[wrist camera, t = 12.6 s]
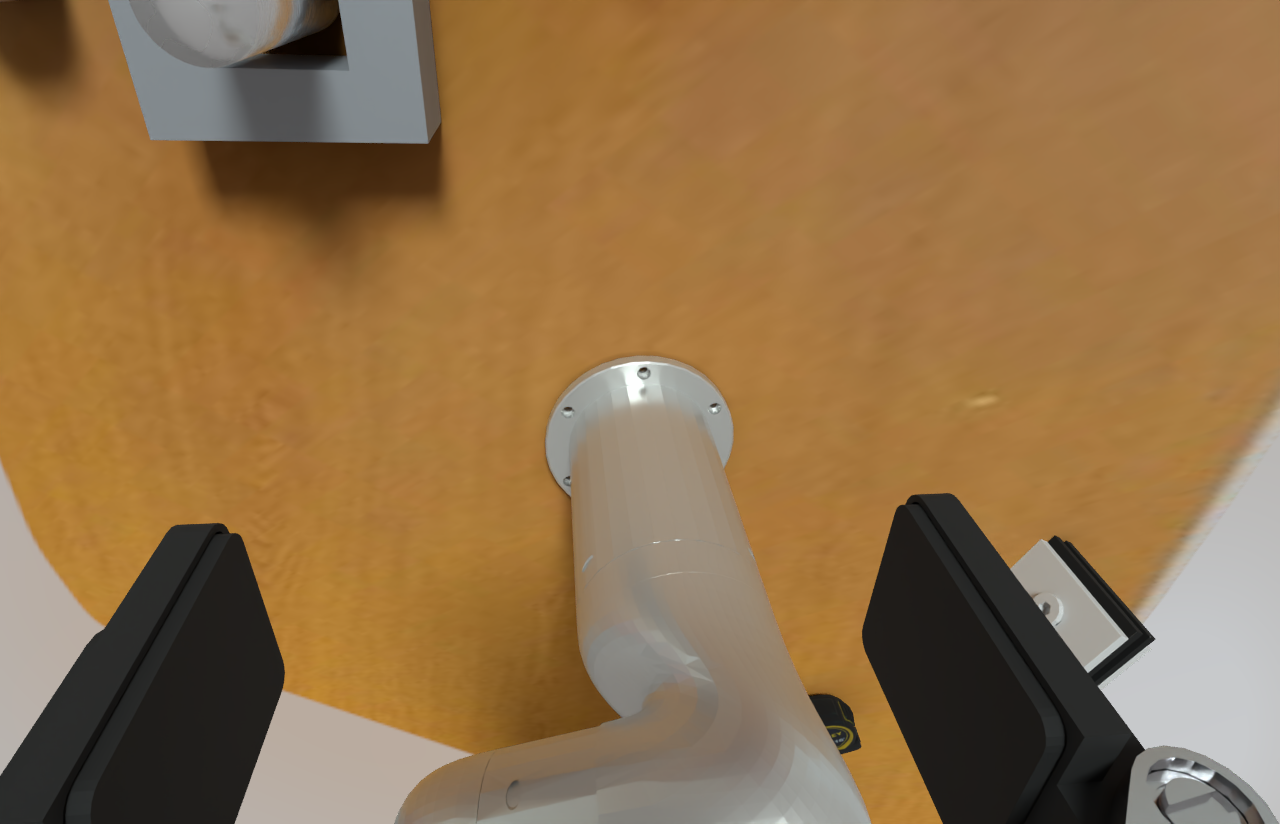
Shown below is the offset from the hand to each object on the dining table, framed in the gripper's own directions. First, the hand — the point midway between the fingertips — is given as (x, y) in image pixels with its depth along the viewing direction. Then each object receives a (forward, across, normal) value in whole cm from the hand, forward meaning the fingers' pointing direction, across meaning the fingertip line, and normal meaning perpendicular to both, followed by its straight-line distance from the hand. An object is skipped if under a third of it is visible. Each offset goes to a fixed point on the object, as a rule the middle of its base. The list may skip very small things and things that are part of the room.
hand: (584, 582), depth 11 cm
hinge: (+34, -38, +38) cm, 63 cm away
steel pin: (+33, +12, -6) cm, 36 cm away
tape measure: (+34, -23, +52) cm, 66 cm away
